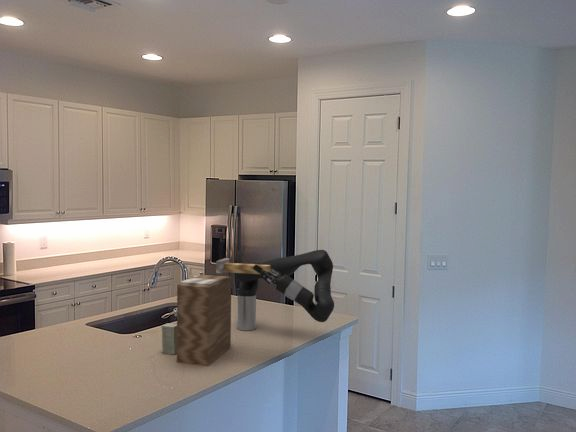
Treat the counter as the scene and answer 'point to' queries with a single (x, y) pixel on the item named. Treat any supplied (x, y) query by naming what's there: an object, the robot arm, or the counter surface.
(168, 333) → the skincare box
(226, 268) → the wood block with plate
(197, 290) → the zigzag wood block
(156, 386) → the counter surface
